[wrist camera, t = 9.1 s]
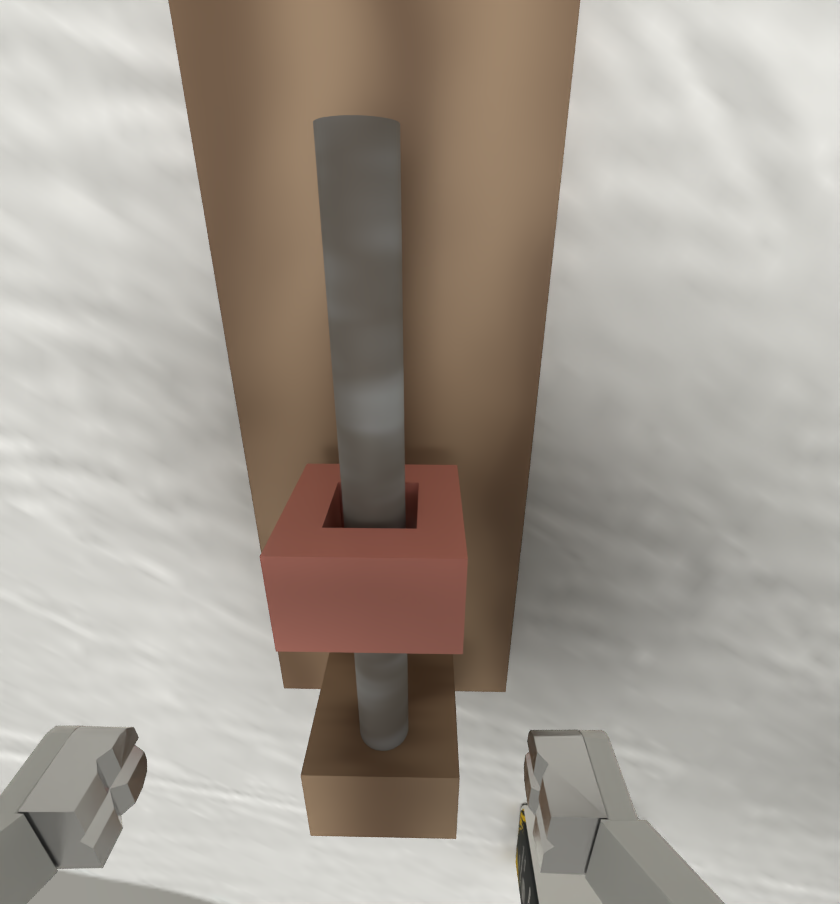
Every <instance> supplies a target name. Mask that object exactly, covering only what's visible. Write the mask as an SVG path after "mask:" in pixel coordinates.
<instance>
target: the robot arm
mask: <svg viewBox="0 0 840 904" xmlns="http://www.w3.org/2000/svg"><path fill="white" fill-rule="evenodd" d="M138 738H139V737H138V735H137V733H136V731H135V728H134V727H101V726H55V727H54V728H53V729H51V730H50V731H49V732H48V733H47V734H46V735H45V736H44V737H43V739H42V740H41V741H40V743H39V744H38V745H37V747H36V748H35V749H34V751H33V752H32V753H31V755H30V756H29V757H28V759H27V760H26V762H25V763H24V764H23V766H22V767H21V768H20V770H19V771H18V772H17V774H16V775H15V776H14V778H13V779H12V780H11V782H10V783H9V784H8V786H7V787H6V788H5V790H4V791H3V793H2V794H1V795H0V904H27V903H28V902H29V901H30V899H32V897H34V896H35V894H37V892H38V891H39V890H40V889H41V888H42V887H43V886H44V885H45V884H46V883H47V882H48V881H49V880H50V879H51V878H52V877H53V876H54V875H55V874H56V873H57V872H58V870H57V869H72V868H103V867H104V865H105V863H106V861H107V859H108V857H109V855H110V853H111V851H112V849H113V847H114V845H115V843H116V841H117V839H118V837H119V835H120V833H121V831H122V829H123V826H122V818H121V815H122V814H123V813H125V812H126V811H127V810H128V809H129V808H130V807H131V806H133V805H134V804H135V803H136V800H137V798H138V796H139V794H140V792H141V790H142V788H143V784H144V781H145V777H146V773H147V759H146V756H145V753H144V751H143V750H141V749H140V748H138V747H137V746H136V745H135V743H136V741H137V740H138ZM527 742H528V747H529V752H528V753H527V754H526V755H525V762H524V781H525V790H526V797H527V803H528V807H529V809H530V810H531V811H532V812H533V814H534V815H535V821H534V828H533V837H534V842H535V848H536V853H537V859H538V864H539V870H540V873H555V874H578V875H585V878H586V880H587V881H588V883H589V884H590V886H591V887H592V889H593V890H594V892H595V893H596V895H597V896H598V898H599V899H600V901H601V902H602V904H725V903H724V902H723V901H722V900H721V899H720V898H719V897H718V896H717V895H716V894H715V893H714V891H713V890H712V889H711V888H710V887H709V886H708V885H707V884H706V883H705V882H704V881H703V880H702V879H701V878H700V877H699V876H698V874H697V873H696V872H695V871H694V870H693V869H692V868H691V867H690V866H689V865H688V864H687V863H686V862H685V861H684V860H683V859H682V857H681V856H680V855H679V854H678V853H677V852H676V851H675V850H674V849H673V848H672V847H671V846H670V845H669V844H668V843H667V841H666V840H665V839H664V838H663V837H662V836H661V835H660V834H659V833H658V832H657V831H656V830H655V829H654V828H653V827H652V826H651V824H650V823H649V822H648V821H647V820H638V817H637V814H636V811H635V809H634V806H633V803H632V800H631V797H630V795H629V792H628V789H627V786H626V784H625V781H624V778H623V775H622V773H621V770H620V767H619V764H618V761H617V759H616V756H615V753H614V750H613V748H612V745H611V742H610V739H609V737H608V735H607V734H606V733H605V731H602V730H530V732H529V734H528V740H527Z"/></svg>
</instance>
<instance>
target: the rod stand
mask: <svg viewBox="0 0 840 904" xmlns="http://www.w3.org/2000/svg"><path fill="white" fill-rule="evenodd" d="M168 1H169V7H170V13H171V19H172V25H173V31H174V37H175V43H176V48H177V54H178V60H179V66H180V72H181V78H182V84H183V90H184V96H185V102H186V108H187V114H188V120H189V126H190V132H191V138H192V144H193V150H194V155H195V161H196V167H197V173H198V179H199V185H200V191H201V197H202V203H203V209H204V215H205V221H206V227H207V233H208V239H209V245H210V251H211V257H212V263H213V268H214V274H215V280H216V286H217V292H218V298H219V304H220V310H221V316H222V322H223V328H224V334H225V340H226V346H227V352H228V358H229V364H230V370H231V375H232V381H233V387H234V393H235V399H236V405H237V411H238V417H239V423H240V429H241V435H242V441H243V447H244V453H245V459H246V465H247V471H248V477H249V483H250V488H251V494H252V500H253V506H254V512H255V518H256V524H257V530H258V536H259V542H260V548H261V553H262V551H263V549H264V547H265V545H266V543H267V541H268V539H269V537H270V535H271V533H272V531H273V529H274V527H275V525H276V523H277V521H278V520H279V518H280V516H281V514H282V512H283V510H284V508H285V506H286V504H287V502H288V500H289V498H290V496H291V494H292V492H293V490H294V488H295V486H296V484H297V482H298V480H299V478H300V476H301V474H302V472H303V470H304V468H305V466H306V464H339V465H340V478H341V491H342V504H343V516H344V528H399V529H406V513H405V464H414V465H457V467H458V476H459V485H460V494H461V503H462V511H463V520H464V529H465V538H466V547H467V556H468V566H467V585H466V604H465V623H464V642H463V654H411V653H345V652H279V651H278V655H279V661H280V667H281V673H282V679H283V685H284V688H298V689H321V690H320V695H319V699H318V703H317V708H316V712H315V716H314V720H313V725H312V729H311V733H310V738H309V742H308V746H307V750H306V755H305V759H304V763H303V768H302V772H301V780H302V786H303V792H304V798H305V804H306V810H307V817H308V823H309V829H310V835H311V836H348V837H395V838H442V839H456V831H457V813H458V796H459V760H458V741H457V722H456V704H455V691H481V692H505V691H506V682H507V672H508V663H509V654H510V645H511V635H512V626H513V617H514V608H515V598H516V589H517V580H518V571H519V562H520V552H521V543H522V534H523V525H524V515H525V506H526V497H527V488H528V478H529V469H530V460H531V451H532V441H533V432H534V423H535V414H536V404H537V395H538V386H539V377H540V367H541V358H542V349H543V340H544V330H545V321H546V312H547V303H548V293H549V284H550V275H551V266H552V257H553V247H554V238H555V229H556V220H557V210H558V201H559V192H560V183H561V173H562V164H563V155H564V146H565V136H566V127H567V118H568V109H569V99H570V90H571V81H572V72H573V62H574V53H575V44H576V35H577V25H578V16H579V7H580V0H168Z"/></svg>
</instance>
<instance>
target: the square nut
mask: <svg viewBox="0 0 840 904" xmlns="http://www.w3.org/2000/svg"><path fill="white" fill-rule="evenodd" d="M405 513H406V529H399V528H344V516H343V504H342V491H341V478H340V465H339V464H306V466H305V468H304V470H303V472H302V474H301V476H300V478H299V480H298V482H297V484H296V486H295V488H294V490H293V492H292V494H291V496H290V498H289V500H288V502H287V504H286V506H285V508H284V510H283V512H282V514H281V516H280V518H279V520H278V521H277V523H276V525H275V527H274V529H273V531H272V533H271V535H270V537H269V539H268V541H267V543H266V545H265V547H264V549H263V551H262V553H261V555H260V561H261V567H262V573H263V579H264V585H265V590H266V596H267V602H268V608H269V614H270V620H271V626H272V632H273V637H274V643H275V649H276V651H279V652H345V653H411V654H463V642H464V623H465V604H466V585H467V566H468V556H467V547H466V538H465V529H464V520H463V511H462V503H461V494H460V485H459V476H458V467H457V465H414V464H405Z"/></svg>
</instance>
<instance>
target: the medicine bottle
mask: <svg viewBox="0 0 840 904" xmlns="http://www.w3.org/2000/svg"><path fill="white" fill-rule="evenodd" d="M534 821H535V815H534V814H533V812H532V811H531V810H530V809H529V807H528V805H523V806H522V808H521V814H520V824H519V834H518V844H517V854H516V868H517V876H518V883H519V891H520V898H521V904H602V902H601V901H600V899H599V898H598V896H597V895H596V893H595V892H594V890H593V889H592V887H591V886H590V884H589V883H588V881H587V880H586V878H585V875H578V874H555V873H540V870H539V864H538V859H537V853H536V848H535V842H534V837H533V828H534Z"/></svg>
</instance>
